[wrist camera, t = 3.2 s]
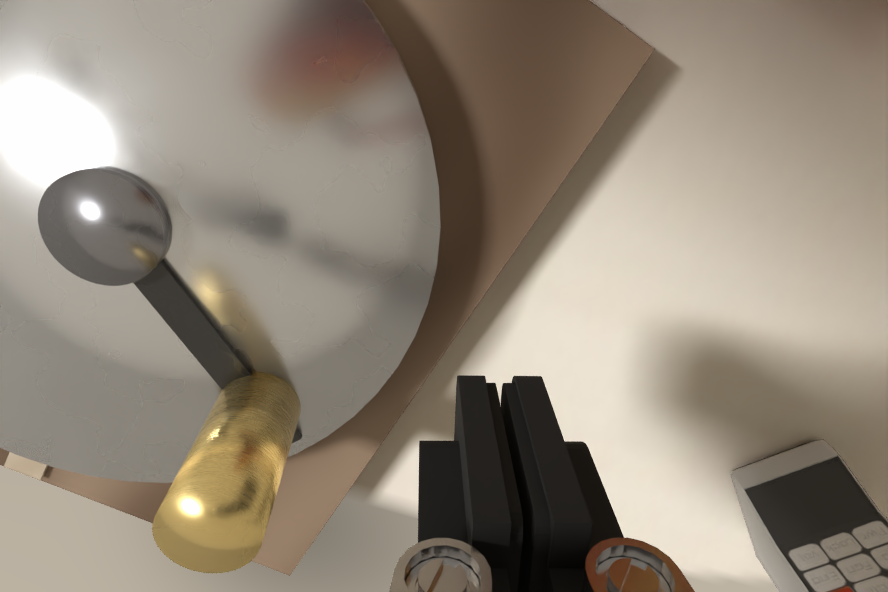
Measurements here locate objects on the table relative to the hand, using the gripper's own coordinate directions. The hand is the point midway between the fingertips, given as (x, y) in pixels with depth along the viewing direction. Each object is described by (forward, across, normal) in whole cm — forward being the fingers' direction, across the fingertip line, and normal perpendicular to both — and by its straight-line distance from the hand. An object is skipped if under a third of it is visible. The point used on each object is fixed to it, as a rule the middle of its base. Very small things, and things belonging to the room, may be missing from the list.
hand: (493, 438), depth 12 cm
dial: (+7, +10, -3) cm, 12 cm away
